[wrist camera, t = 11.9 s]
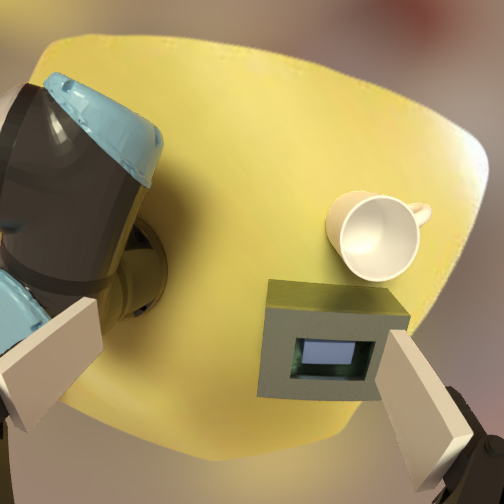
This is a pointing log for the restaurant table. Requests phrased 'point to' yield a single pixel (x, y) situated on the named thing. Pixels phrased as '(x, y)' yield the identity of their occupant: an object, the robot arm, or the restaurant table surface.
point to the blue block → (326, 351)
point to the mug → (375, 233)
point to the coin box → (329, 328)
